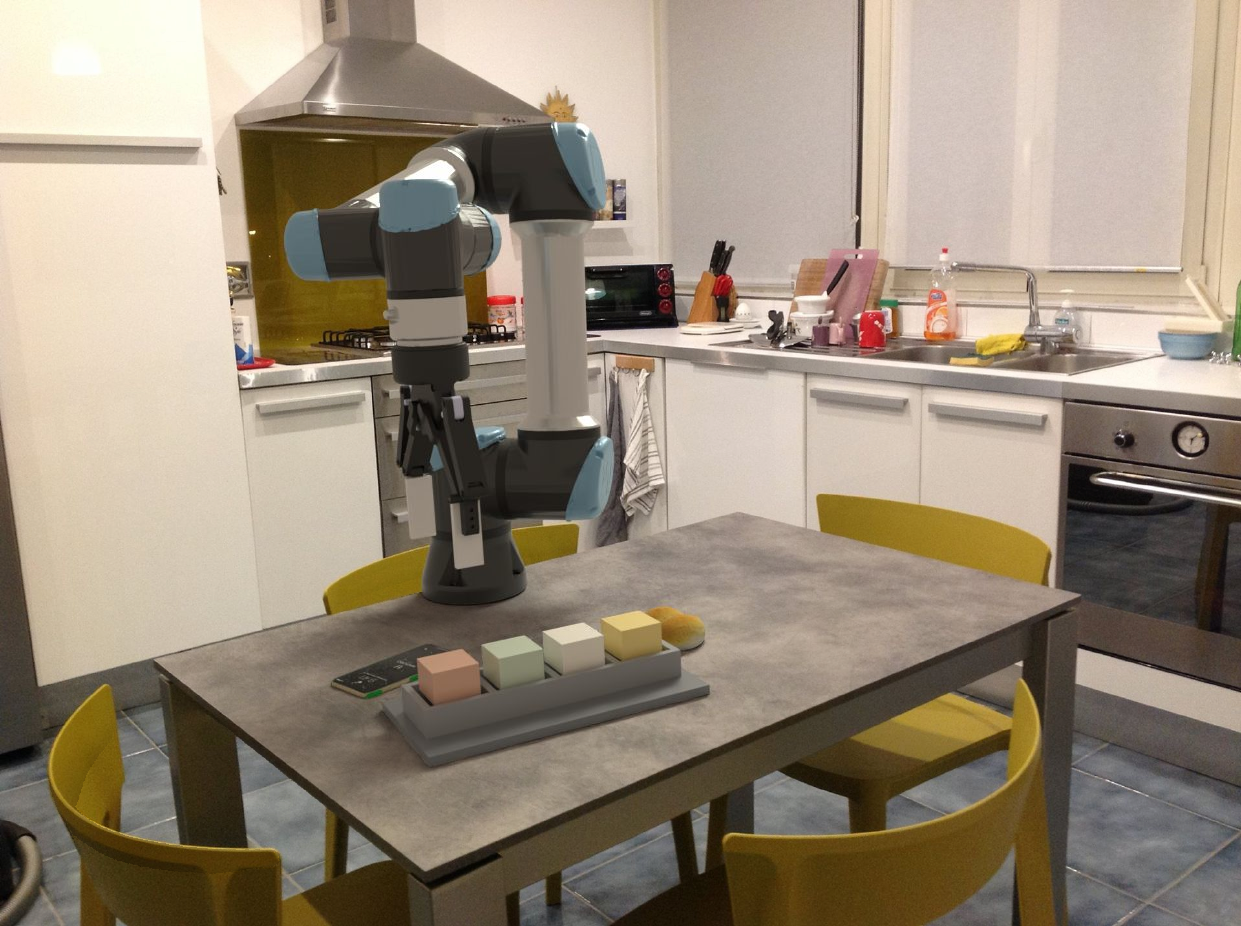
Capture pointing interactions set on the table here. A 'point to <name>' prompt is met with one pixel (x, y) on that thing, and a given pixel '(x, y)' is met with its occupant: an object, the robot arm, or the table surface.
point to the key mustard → (631, 635)
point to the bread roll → (679, 627)
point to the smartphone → (386, 673)
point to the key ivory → (573, 648)
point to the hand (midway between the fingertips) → (445, 550)
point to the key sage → (512, 662)
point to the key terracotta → (448, 676)
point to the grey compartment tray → (540, 705)
